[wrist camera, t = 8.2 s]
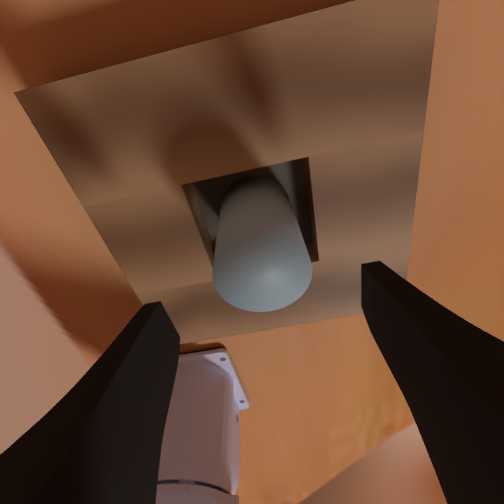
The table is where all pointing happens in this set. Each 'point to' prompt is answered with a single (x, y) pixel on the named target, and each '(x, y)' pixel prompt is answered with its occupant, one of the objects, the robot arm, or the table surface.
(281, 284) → the slate pin
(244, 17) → the table surface
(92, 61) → the table surface
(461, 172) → the table surface
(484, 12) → the table surface
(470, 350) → the robot arm
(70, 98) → the walnut socket block
